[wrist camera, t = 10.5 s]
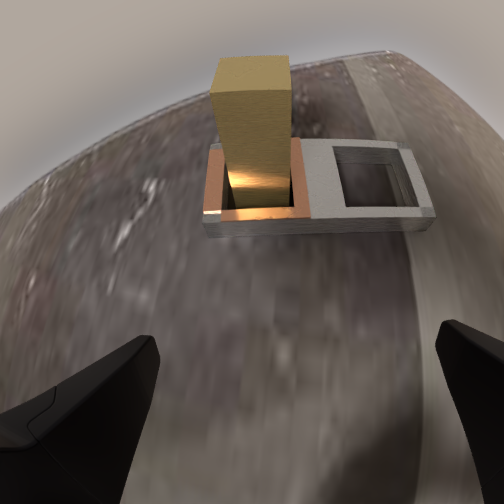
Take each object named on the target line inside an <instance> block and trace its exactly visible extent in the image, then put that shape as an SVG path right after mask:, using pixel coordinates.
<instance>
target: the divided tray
mask: <svg viewBox="0 0 504 504" xmlns="http://www.w3.org/2000/svg"><path fill="white" fill-rule="evenodd" d="M336 163H358V164H387V165H392V167H393V169H394V172H395V175H396V178H397V181H398V184H399V187H400V190H401V193H402V196H403V199H404V203H405V206H406V207H346V206H345V201H344V196H343V191H342V186H341V182H340V177H339V173H338V168H337V164H336ZM290 169H291V178H292V188H293V198H294V207H279V208H256V209H236V210H227V208H228V188H229V175H228V170H227V166H226V162H225V158H224V153H223V149H222V145H221V143H217V144H211V149H210V152H209V161H208V169H207V178H206V187H205V196H204V206H203V226H204V228H205V230H206V232H207V234H208V237H209V238H220V237H242V236H265V235H291V234H320V233H352V232H391V231H426V230H427V229H428V227H429V226H430V225H431V224H432V222H433V221H434V220H435V218H436V214H435V211H434V208H433V205H432V202H431V199H430V196H429V193H428V191H427V188H426V185H425V183H424V180H423V177H422V175H421V172H420V170H419V167H418V165H417V163H416V160H415V158H414V155H413V153H412V151H411V149H410V146H409V144H408V143H404V142H392V141H377V140H356V139H300V137H295V138H291V161H290Z"/></svg>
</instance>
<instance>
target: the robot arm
mask: <svg viewBox="0 0 504 504" xmlns="http://www.w3.org/2000/svg"><path fill="white" fill-rule="evenodd" d="M435 347H436V351H437V354H438V357H439V360H440V363H441V366H442V370H443V373H444V376H445V379H446V382H447V386H448V388H449V391H450V393H451V396H452V398H453V401H454V403H455V406H456V409H457V411H458V414H459V417H460V419H461V422H462V425H463V428H464V431H465V434H466V437H467V440H468V443H469V446H470V449H471V452H472V456H473V459H474V463H475V466H476V470H477V473H478V477H479V481H480V485H481V487H482V488H481V490H482V494H483V499H484V504H504V342H502V341H500V340H498V339H495V338H493V337H491V336H489V335H487V334H485V333H482V332H480V331H478V330H476V329H474V328H472V327H469V326H467V325H465V324H463V323H461V322H458V321H456V320H454V319H451V320H446V321H443V322H442V323H441V326H440V329H439V332H438V336H437V339H436V343H435ZM159 366H160V355H159V352H158V348H157V345H156V342H155V339H154V337H153V336H150V335H140V336H138V337H136V338H135V339H133V340H131V341H130V342H128V343H126V344H125V345H123V346H121V347H120V348H118V349H116V350H115V351H113V352H111V353H110V354H108V355H106V356H105V357H103V358H101V359H100V360H98V361H96V362H95V363H93V364H91V365H90V366H88V367H86V368H85V369H83V370H81V371H80V372H78V373H76V374H74V375H73V376H71V377H69V378H68V379H66V380H64V381H63V382H61V383H59V384H58V385H57V386H54V387H52V388H51V389H49V390H47V391H46V392H44V393H42V394H40V395H38V396H37V397H35V398H33V399H31V400H29V401H27V402H25V403H23V404H21V405H18V406H16V407H14V408H12V409H10V410H8V411H5V412H3V413H1V414H0V504H120V501H121V497H122V494H123V490H124V487H125V483H126V480H127V477H128V474H129V470H130V467H131V464H132V461H133V457H134V454H135V451H136V448H137V445H138V442H139V439H140V436H141V433H142V429H143V426H144V423H145V420H146V418H147V415H148V412H149V409H150V405H151V402H152V398H153V393H154V388H155V384H156V379H157V375H158V370H159Z"/></svg>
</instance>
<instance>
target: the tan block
mask: <svg viewBox="0 0 504 504" xmlns="http://www.w3.org/2000/svg"><path fill="white" fill-rule="evenodd" d="M210 98H211V102H212V106H213V110H214V115H215V119H216V123H217V128H218V132H219V136H220V141H221V145H222V149H223V153H224V158H225V162H226V166H227V170H228V175H229V179H230V183H231V187H232V192H233V196H234V200H235V204H236V209H256V208H279V207H289V193H290V161H291V78H290V67H289V57H288V56H246V57H231V58H220V61H219V64H218V67H217V70H216V74H215V77H214V80H213V83H212V86H211V89H210Z"/></svg>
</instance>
